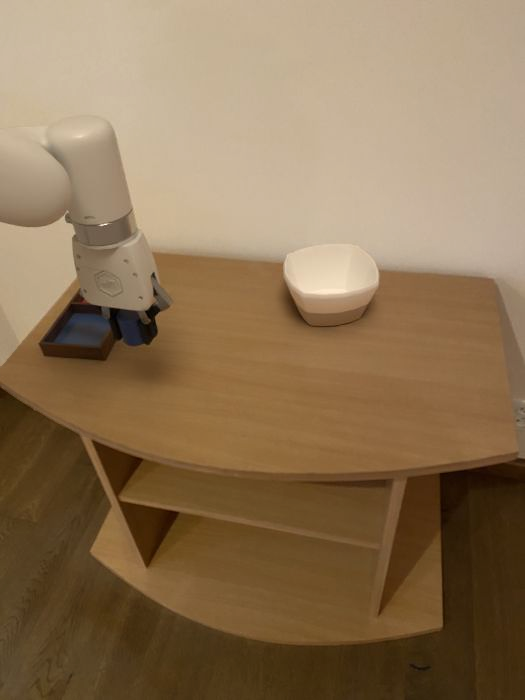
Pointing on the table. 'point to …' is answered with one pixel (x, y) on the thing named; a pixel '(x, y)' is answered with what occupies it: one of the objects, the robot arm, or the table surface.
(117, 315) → the blue mallet
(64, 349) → the tray
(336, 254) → the bowl
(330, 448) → the table surface
